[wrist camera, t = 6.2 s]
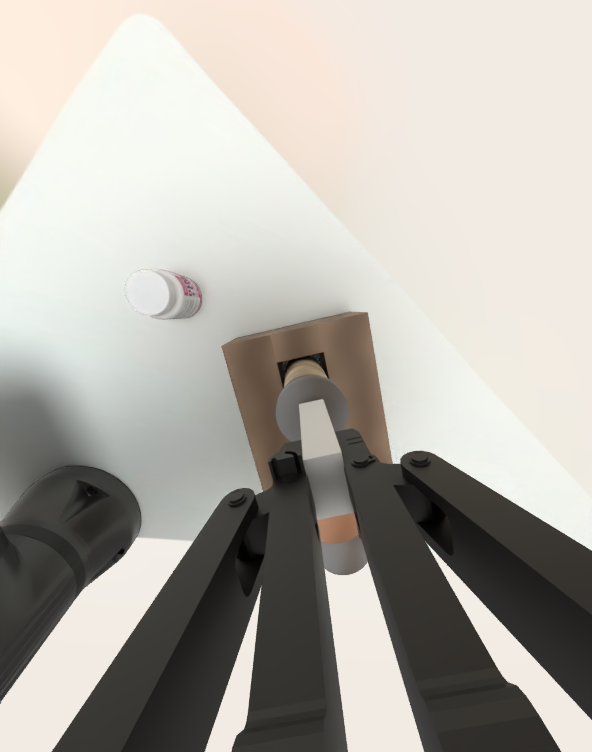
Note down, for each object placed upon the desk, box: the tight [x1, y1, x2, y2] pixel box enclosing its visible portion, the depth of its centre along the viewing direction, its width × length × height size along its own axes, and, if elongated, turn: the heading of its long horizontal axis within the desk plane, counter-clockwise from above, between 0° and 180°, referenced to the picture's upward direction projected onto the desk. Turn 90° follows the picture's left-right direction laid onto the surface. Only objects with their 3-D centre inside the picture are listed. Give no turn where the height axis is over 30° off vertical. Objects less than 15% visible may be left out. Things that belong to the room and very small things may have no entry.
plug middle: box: [317, 513, 358, 544], centre depth 26 cm, size 5×5×12 cm
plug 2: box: [321, 534, 368, 575], centre depth 33 cm, size 5×5×12 cm
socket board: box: [222, 312, 392, 492], centre depth 33 cm, size 14×26×8 cm, turn 13°
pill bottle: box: [125, 269, 202, 319], centre depth 29 cm, size 5×5×8 cm
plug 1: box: [276, 356, 348, 442], centre depth 25 cm, size 5×5×12 cm
